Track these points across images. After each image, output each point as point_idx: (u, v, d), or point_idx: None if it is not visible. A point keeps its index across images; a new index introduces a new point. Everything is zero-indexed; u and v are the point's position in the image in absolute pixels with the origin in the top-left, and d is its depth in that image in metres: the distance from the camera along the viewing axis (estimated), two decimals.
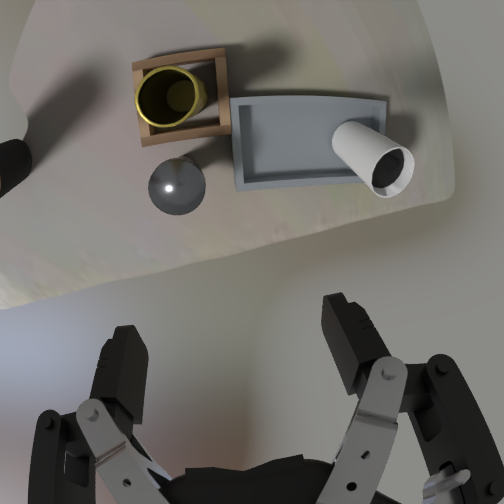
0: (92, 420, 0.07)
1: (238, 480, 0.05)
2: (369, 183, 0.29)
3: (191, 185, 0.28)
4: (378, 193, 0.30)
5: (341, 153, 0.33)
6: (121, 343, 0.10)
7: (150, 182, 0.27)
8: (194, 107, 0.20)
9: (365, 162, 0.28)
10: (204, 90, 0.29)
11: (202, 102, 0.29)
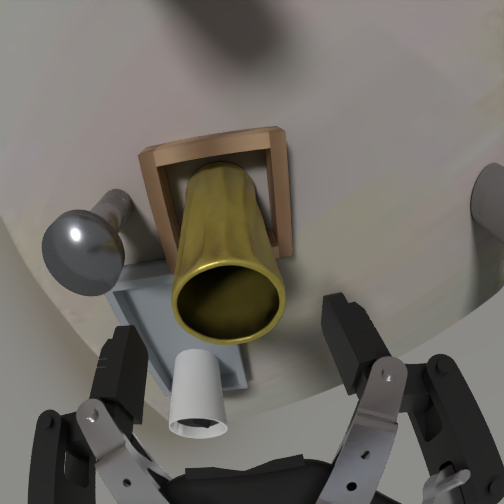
0: (92, 420, 0.07)
1: (238, 480, 0.05)
2: (178, 416, 0.25)
3: (89, 279, 0.17)
4: None
5: (184, 367, 0.31)
6: (121, 343, 0.10)
7: (77, 220, 0.14)
8: (210, 342, 0.14)
9: (196, 405, 0.26)
10: None
11: None
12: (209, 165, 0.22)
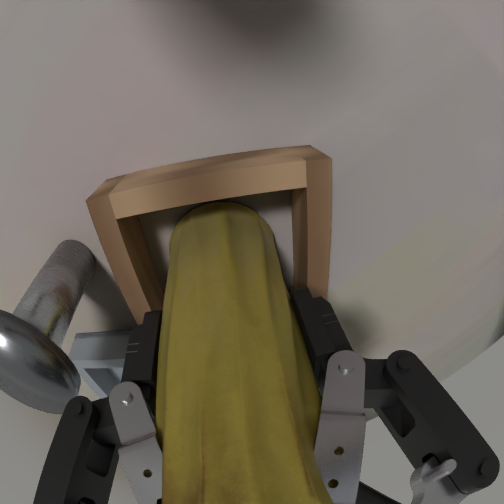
0: (127, 403, 0.07)
1: None
2: None
3: (37, 398, 0.09)
4: None
5: None
6: (152, 327, 0.10)
7: None
8: None
9: None
10: None
11: None
12: (204, 207, 0.15)
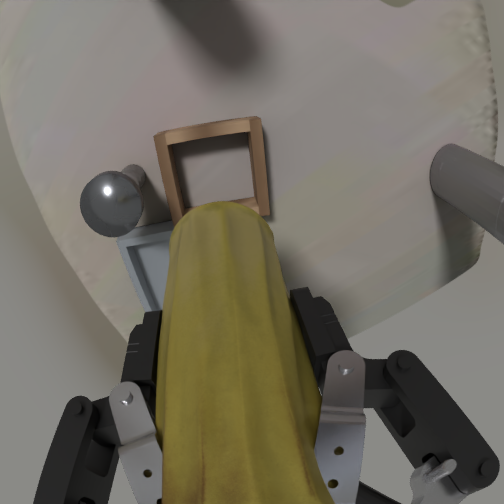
0: (127, 403, 0.07)
1: None
2: None
3: (115, 222, 0.23)
4: None
5: None
6: (152, 327, 0.10)
7: (112, 177, 0.21)
8: None
9: None
10: None
11: None
12: (204, 207, 0.15)
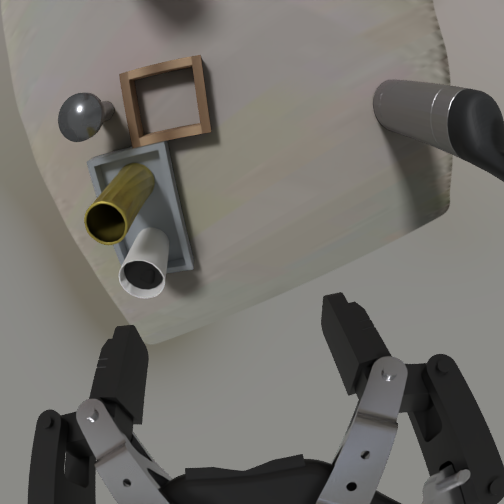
0: (92, 420, 0.07)
1: (238, 480, 0.05)
2: (125, 261, 0.35)
3: (81, 129, 0.26)
4: (120, 273, 0.36)
5: (140, 236, 0.41)
6: (121, 343, 0.10)
7: (82, 94, 0.24)
8: (101, 243, 0.28)
9: (141, 253, 0.36)
10: None
11: None
12: (127, 165, 0.37)
